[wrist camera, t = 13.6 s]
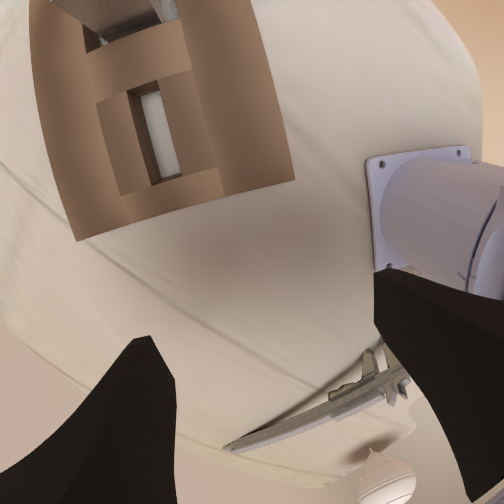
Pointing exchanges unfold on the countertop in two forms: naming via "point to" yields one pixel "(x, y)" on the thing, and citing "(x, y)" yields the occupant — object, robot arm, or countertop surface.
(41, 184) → the countertop surface
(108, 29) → the peg
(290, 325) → the countertop surface
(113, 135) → the socket block
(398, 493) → the spinning top
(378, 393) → the caliper
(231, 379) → the countertop surface
